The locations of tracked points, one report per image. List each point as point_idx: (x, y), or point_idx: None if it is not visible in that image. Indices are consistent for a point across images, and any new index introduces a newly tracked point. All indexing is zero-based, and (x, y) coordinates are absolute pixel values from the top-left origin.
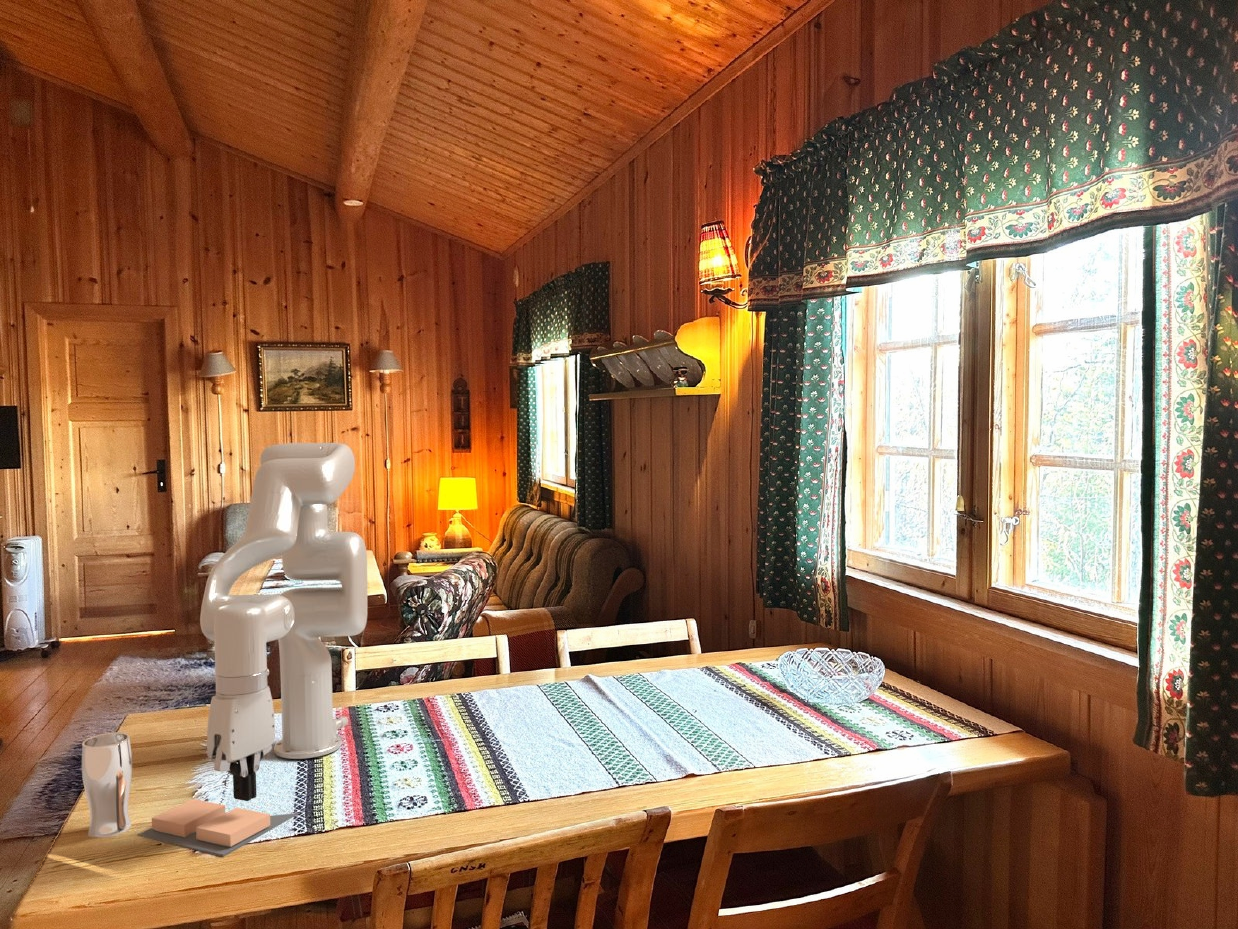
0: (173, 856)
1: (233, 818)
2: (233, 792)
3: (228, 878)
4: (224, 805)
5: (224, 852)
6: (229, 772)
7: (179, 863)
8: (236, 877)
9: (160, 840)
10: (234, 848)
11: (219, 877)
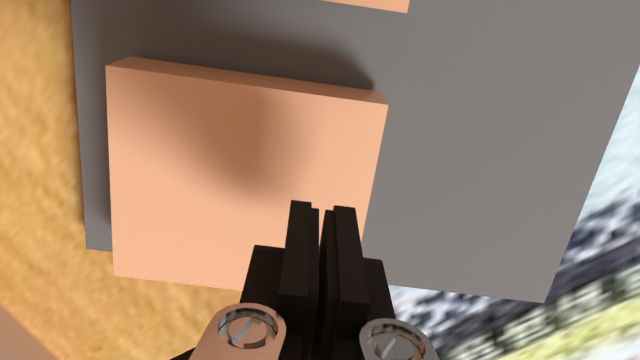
0: (30, 14)
1: (263, 178)
2: (291, 211)
3: (24, 315)
4: (404, 11)
5: (101, 241)
6: (178, 356)
7: (4, 88)
8: (41, 331)
9: None
10: None
11: (14, 287)
